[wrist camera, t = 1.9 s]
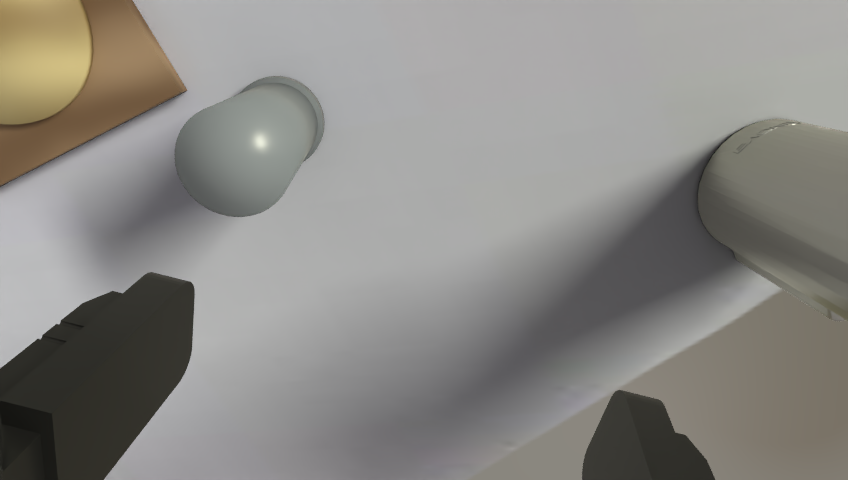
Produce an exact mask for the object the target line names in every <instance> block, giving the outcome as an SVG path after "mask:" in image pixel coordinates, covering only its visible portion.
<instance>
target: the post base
mask: <svg viewBox="0 0 848 480" xmlns="http://www.w3.org/2000/svg"><path fill="white" fill-rule="evenodd" d="M185 91H187V89H186V88H185V86H184V84H183V83H182V81H181V79H180V78H179V76H178V74H177V73H176V71H175V69H174V68H173V66H172V65H171V63H170V61H169V60H168V58H167V56H166V55H165V53H164V51H163V50H162V48H161V47H160V45H159V43H158V42H157V40H156V38H155V37H154V35H153V33H152V32H151V30H150V29H149V27H148V25H147V24H146V22H145V20H144V19H143V17H142V15H141V14H140V12H139V11H138V9H137V7H136V6H135V4H134V2H133V1H132V0H0V186H2V185H4V184H6V183H8V182H10V181H12V180H14V179H16V178H18V177H20V176H22V175H24V174H26V173H28V172H29V171H31V170H33V169H35V168H37V167H39V166H41V165H43V164H45V163H47V162H49V161H51V160H53V159H55V158H57V157H59V156H61V155H62V154H64V153H66V152H68V151H70V150H72V149H74V148H76V147H78V146H80V145H82V144H84V143H86V142H88V141H90V140H92V139H94V138H96V137H97V136H99V135H101V134H103V133H105V132H107V131H109V130H111V129H113V128H115V127H117V126H119V125H121V124H123V123H125V122H127V121H129V120H131V119H132V118H134V117H136V116H138V115H140V114H142V113H144V112H146V111H148V110H150V109H152V108H154V107H156V106H158V105H160V104H162V103H164V102H165V101H167V100H169V99H171V98H173V97H175V96H177V95H179V94H181V93H183V92H185Z"/></svg>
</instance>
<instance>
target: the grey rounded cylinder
mask: <svg viewBox="0 0 848 480" xmlns="http://www.w3.org/2000/svg"><path fill="white" fill-rule="evenodd" d="M323 132H324V115H323V111H322V108H321V106H320V103H319V101H318V100H317V98H316V97H315V95H314V94H313V93H312V92H311V91H310V90H309V89H308V88H307V87H306V86H304V85H303V84H302V83H300V82H298V81H296V80H294V79H291V78H287V77H282V76H271V77H266V78H262V79H260V80H257V81H255V82H253V83H251V84H250V85H248V86H247V87H246V88H245V89H244V90H243V91H242V92H241V93H240V94H238V95H236V96H234V97H231V98H229V99H227V100H224V101H222V102H220V103H217V104H215V105H213V106H210V107H208V108H206V109H203V110H201V111H200V112H198V113H196V114H195V115H194V116H193V117H191V118H190V119H189V120H188V121H187V122H186V124H185V125H184V126H183V128H182V129H181V131H180V133H179V136H178V138H177V141H176V146H175V165H176V169H177V173H178V176H179V178H180V180H181V182H182V184H183V186H184V187H185V189H186V190H187V191H188V193H189V194H190V195H191V196H192V197H193V198H194V199H195V200H196V201H197V202H198V203H200V204H201V205H203V206H204V207H206V208H207V209H209V210H211V211H213V212H216V213H219V214H222V215H226V216H232V217H245V216H252V215H255V214H258V213H261V212H263V211H265V210H267V209H269V208H270V207H271V206H273V205H274V204H275V203H276V202H277V201H278V200H279V199H280V198H281V197H282V195H283V194H284V193H285V191H286V189H287V187H288V186H289V184H290V182H291V181H292V179H293V177H294V176H295V174H296V172H297V171H298V169H299V167H300V166H301V164H302V162H304V161H305V160H306V159H308V158H309V157H310V156H311V155H312V154H313V153H314V151H315V150H316V149H317V147H318V145H319V143H320V141H321V139H322V136H323Z"/></svg>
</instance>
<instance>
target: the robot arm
mask: <svg viewBox="0 0 848 480" xmlns="http://www.w3.org/2000/svg"><path fill="white" fill-rule="evenodd" d="M698 209H699V213H700V216H701V219H702V222H703V224H704V226H705V227H706V229H707V230H708V232H709V233H710V234H711V235H712V236H713V237H714V238H715V239H716V240H717V241H719V242H721V243H722V244H724V245H725V246H727V247H729V248H730V249H732V250H733V252H734V254H735V258H736V260H738V261H739V262H741V263H742V264H744V265H745V266H747V267H749V268H750V269H752V270H753V271H755V272H756V273H758V274H760V275H761V276H763V277H764V278H766V279H767V280H769V281H771V282H772V283H774V284H775V285H777V286H778V287H780V288H782V289H783V290H785V291H786V292H788V293H789V294H791V295H793V296H794V297H796V298H797V299H799V300H800V301H802V302H804V303H805V304H807V305H808V306H810V307H811V308H813V309H815V310H816V311H818V312H820V313H821V314H823V315H824V316H826V317H827V318H829V319H831V320H834V321H844V320H847V321H848V132H844V131H840V130H835V129H831V128H826V127H821V126H817V125H812V124H807V123H802V122H798V121H793V120H785V119H772V120H764V121H760V122H757V123H755V124H752V125H749V126H747V127H745V128H743V129H742V130H740V131H738V132H736V133H735V134H733V135H732V136H731V137H730V138H729V139H727V140H726V141H725V142H724V143H723V144H722V145H721V146H720V147H719V148H718V150H717V151H716V152H715V153H714V154H713V156H712V157H711V159H710V161H709V162H708V164H707V166H706V168H705V169H704V172H703V175H702V178H701V181H700V184H699V191H698ZM193 315H194V286H193V284H192V283H191V282H189V281H185V280H181V279H177V278H173V277H169V276H165V275H161V274H157V273H153V272H150V273H147V274H145V275H144V276H143V277H142V278H140V279H139V280H138V281H137V282H136V283H135V284H133V285H132V286H131V287H130V288H129V289H128V290H126V291H125V292H124V293H123V294H122V293H118V292H114V291H112V292H109V293H107V294H104V295H102V296H99V297H97V298H94V299H92V300H89V301H87V302H85V303H82V304H81V305H80V306H79V307H77V308H76V309H75V310H74V311H72V312H71V313H70V314H69V315H67V316H66V317H65V318H64V319H62V320H61V323H60V324H59V325H58V324H56V325H55V326H53V327H52V328H51V329H50V330H48V331H47V332H46V333H45V334H43V336H42V338H41V340H40V339H37V340H36V341H35V342H33V343H32V344H31V345H30V346H28V347H27V348H26V349H24V350H23V351H22V352H21V353H19V354H18V355H17V356H16V357H14V358H13V359H12V360H11V361H9V362H8V363H7V364H6V365H4V366H3V367H2V368H1V369H0V480H104V479H105V477H106V476H107V475H108V473H109V472H110V471H111V469H112V468H113V467H114V466H115V464H116V463H117V462H118V460H119V459H120V458H121V457H122V455H123V454H124V453H125V451H126V450H127V449H128V448H129V446H130V445H131V444H132V442H133V441H134V440H135V439H136V437H137V436H138V435H139V433H140V432H141V431H142V430H143V428H144V427H145V426H146V424H147V423H148V422H149V421H150V419H151V418H152V417H153V415H154V414H155V413H156V412H157V410H158V409H159V408H160V406H161V405H162V404H163V403H164V401H165V400H166V399H167V397H168V396H169V395H170V394H171V392H172V391H173V390H174V388H175V387H176V386H177V385H178V383H179V382H180V380H181V379H182V377H183V375H184V373H185V371H186V369H187V366H188V363H189V360H190V356H191V351H192V336H193ZM582 480H715V478H714V476H713V474H712V471H711V469H710V467H709V465H708V463H707V460H706V459H705V458H704V456H703V455H702V454H701V453H700V452H699V451H698V450H697V448H696V447H695V446H694V445H693V443H692V442H691V441H690V440H689V439H688V438H687V436H686V435H683V434H678V433H675V431H674V429H673V426H672V423H671V421H670V418H669V416H668V414H667V411H666V408H665V406H664V404H663V403H662V401H660V400H658V399H654V398H650V397H646V396H642V395H638V394H634V393H630V392H626V391H621V390H618V391H616V392H615V393H614V394H613V396H612V397H611V399H610V401H609V403H608V405H607V408H606V410H605V412H604V414H603V416H602V418H601V421H600V423H599V425H598V427H597V429H596V431H595V433H594V436H593V438H592V440H591V442H590V444H589V446H588V448H587V451H586V454H585V458H584V463H583V471H582Z"/></svg>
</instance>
